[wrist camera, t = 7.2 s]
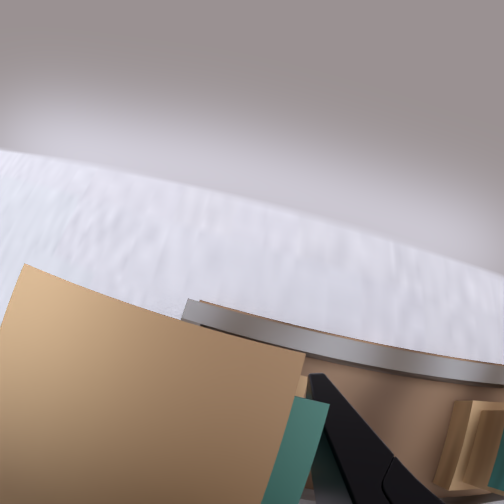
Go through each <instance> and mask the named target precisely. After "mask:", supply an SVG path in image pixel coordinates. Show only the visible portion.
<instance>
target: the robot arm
mask: <svg viewBox="0 0 504 504" xmlns="http://www.w3.org/2000/svg"><path fill="white" fill-rule="evenodd" d="M306 399H310V400H315V401H319V402H323V403H327V404H330V406H329V409H328V413H327V417H326V420H325V424H324V427H323V431H322V434H321V437H320V441H319V444H318V447H317V450H316V454H315V457H314V460H313V463H312V466H311V475H312V481H313V487H314V493H315V499H316V504H445V503H444V502H443V501H442V500H441V499H439V498H438V497H437V496H436V495H435V494H433V493H432V492H431V491H430V490H429V489H428V488H426V487H425V486H424V485H423V484H422V483H421V482H420V481H419V480H418V479H417V478H416V477H415V476H414V475H413V474H412V473H411V472H410V471H409V470H408V469H407V468H406V467H405V466H404V465H403V464H402V463H401V461H400V460H399V459H398V458H397V457H394V454H393V452H392V451H391V450H390V449H389V448H388V447H387V446H386V444H385V443H384V442H383V441H382V440H381V439H380V438H379V436H378V435H377V434H376V433H375V432H374V431H373V430H372V428H371V427H370V426H369V425H368V424H367V423H366V421H365V420H364V419H363V418H362V417H361V416H360V415H359V413H358V412H357V411H356V410H355V409H354V408H353V406H352V405H351V404H350V403H349V402H348V401H347V399H346V398H345V397H344V396H343V395H342V394H341V392H340V391H339V390H338V389H337V388H336V386H335V385H334V384H333V383H332V382H331V381H330V379H329V378H328V377H327V376H326V375H325V374H324V373H310V374H309V375H308V379H307V389H306Z"/></svg>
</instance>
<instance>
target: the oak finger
mask: <svg viewBox="0 0 504 504" xmlns="http://www.w3.org/2000/svg"><path fill="white" fill-rule="evenodd" d="M305 356H306V354H305V353H301V352H296V351H292V350H288V349H284V348H280V347H275V346H271V345H267V344H263V343H259V342H256V341H252V340H248V339H244V338H240V337H237V336H233V335H229V334H226V333H222V332H218V331H215V330H211V329H208V328H204V327H201V326H198V325H194V324H191V323H188V322H184V321H181V320H178V319H175V318H171V317H168V316H165V315H162V314H159V313H156V312H153V311H150V310H147V309H144V308H141V307H138V306H135V305H132V304H129V303H126V302H123V301H120V300H117V299H114V298H112V297H109V296H106V295H103V294H100V293H98V292H95V291H92V290H90V289H87V288H84V287H82V286H79V285H76V284H74V283H71V282H69V281H66V280H64V279H61V278H59V277H56V276H54V275H51V274H49V273H46V272H44V271H41V270H39V269H37V268H34V267H32V266H30V265H27V264H25V263H24V266H23V268H22V270H21V273H20V275H19V278H18V280H17V283H16V285H15V288H14V290H13V293H12V296H11V298H10V301H9V304H8V307H7V310H6V312H5V315H4V318H3V321H2V324H1V327H0V504H298V503H299V501H300V498H301V495H302V492H303V490H304V487H305V484H306V481H307V478H308V475H309V472H310V469H311V466H312V463H313V460H314V457H315V454H316V450H317V447H318V444H319V441H320V437H321V434H322V431H323V427H324V424H325V420H326V417H327V413H328V409H329V406H330V404H327V403H323V402H319V401H315V400H310V399H306V398H304V394H305V390H306V387H307V379H308V377H306V376H301V371H302V367H303V363H304V360H305Z"/></svg>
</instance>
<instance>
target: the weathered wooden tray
mask: <svg viewBox="0 0 504 504" xmlns="http://www.w3.org/2000/svg"><path fill="white" fill-rule="evenodd" d="M181 321H184V322H188V323H191V324H194V325H198V326H201V327H204V328H208V329H211V330H215V331H218V332H222V333H226V334H229V335H233V336H237V337H240V338H244V339H248V340H252V341H256V342H259V343H263V344H267V345H271V346H275V347H280V348H284V349H288V350H292V351H296V352H301V353H305V354H306V356H305V360H304V363H303V367H302V371H301V376H306V377H308V375H309V374H310V373H324V374H325V375H326V376H327V377H328V378H329V379H330V381H331V382H332V383H333V384H334V385H335V386H336V388H337V389H338V390H339V391H340V392H341V394H342V395H343V396H344V397H345V398H346V399H347V401H348V402H349V403H350V404H351V405H352V406H353V408H354V409H355V410H356V411H357V412H358V413H359V415H360V416H361V417H362V418H363V419H364V420H365V421H366V423H367V424H368V425H369V426H370V427H371V428H372V430H373V431H374V432H375V433H376V434H377V435H378V436H379V438H380V439H381V440H382V441H383V442H384V443H385V444H386V446H387V447H388V448H389V449H390V450H391V451H392V452H393V454H394V457H397V458H398V459H399V460H400V461H401V463H402V464H403V465H404V466H405V467H406V468H407V469H408V470H409V471H410V472H411V473H412V474H413V475H414V476H415V477H416V478H417V479H418V480H419V481H420V482H421V483H422V484H423V485H424V486H425V487H426V488H428V489H429V490H430V491H431V492H432V493H433V494H435V495H436V496H437V497H438V498H439V499H441V500H442V501H443V502H444V503H445V504H504V365H502V364H495V363H487V362H480V361H474V360H467V359H461V358H455V357H448V356H442V355H437V354H431V353H425V352H420V351H414V350H409V349H404V348H398V347H393V346H388V345H383V344H378V343H373V342H368V341H363V340H359V339H354V338H349V337H345V336H340V335H336V334H331V333H327V332H323V331H318V330H314V329H310V328H305V327H301V326H297V325H293V324H289V323H285V322H281V321H277V320H273V319H269V318H265V317H261V316H257V315H253V314H249V313H246V312H242V311H238V310H234V309H231V308H227V307H223V306H220V305H216V304H213V303H209V302H205V301H202V300H200V301H199V302H198V301H195V300H191V299H188V300H187V303H186V306H185V309H184V312H183V315H182V318H181ZM306 389H307V387H306ZM304 398H306V390H305V394H304ZM298 504H316V499H315V493H314V487H313V481H312V475H311V469H310V472H309V475H308V478H307V481H306V484H305V487H304V490H303V492H302V495H301V498H300V501H299V503H298Z"/></svg>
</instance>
